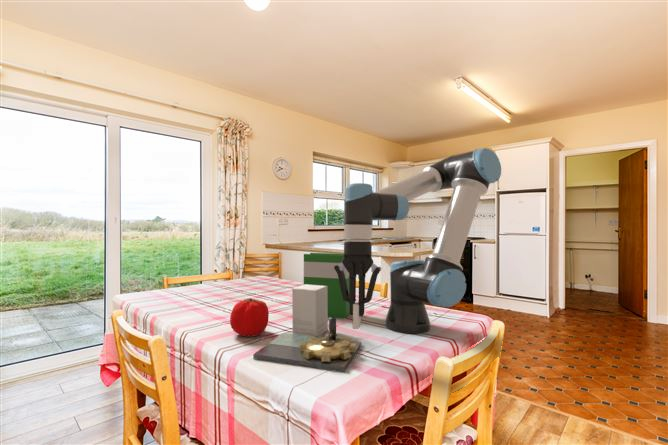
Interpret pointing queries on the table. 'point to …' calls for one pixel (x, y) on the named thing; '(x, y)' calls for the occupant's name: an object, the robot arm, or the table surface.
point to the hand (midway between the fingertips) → (356, 327)
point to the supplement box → (310, 309)
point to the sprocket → (328, 345)
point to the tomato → (249, 317)
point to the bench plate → (300, 353)
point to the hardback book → (327, 280)
